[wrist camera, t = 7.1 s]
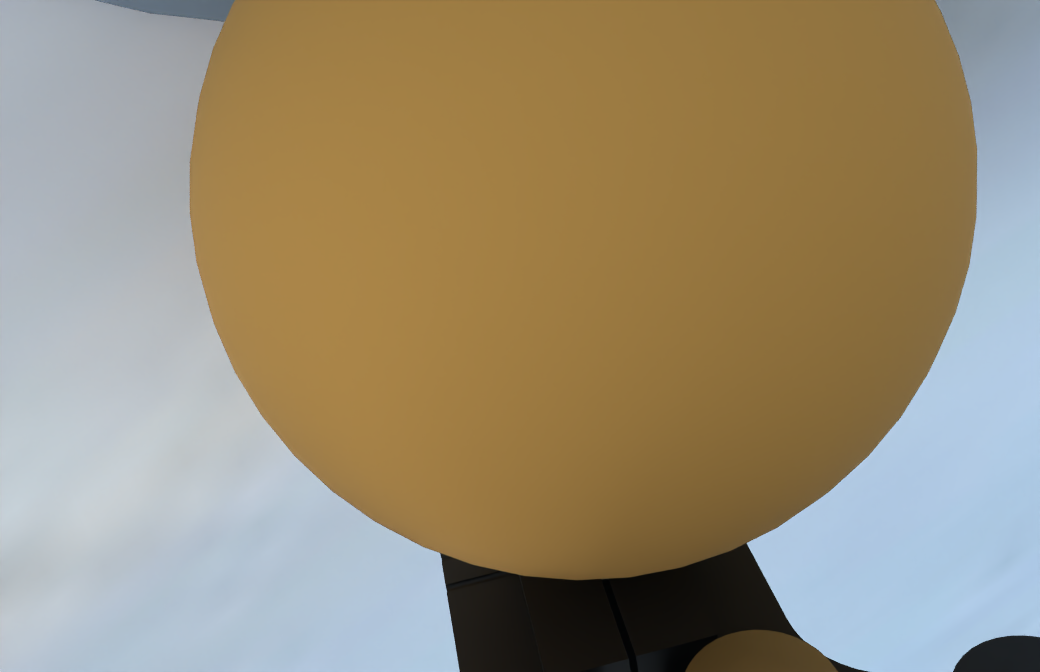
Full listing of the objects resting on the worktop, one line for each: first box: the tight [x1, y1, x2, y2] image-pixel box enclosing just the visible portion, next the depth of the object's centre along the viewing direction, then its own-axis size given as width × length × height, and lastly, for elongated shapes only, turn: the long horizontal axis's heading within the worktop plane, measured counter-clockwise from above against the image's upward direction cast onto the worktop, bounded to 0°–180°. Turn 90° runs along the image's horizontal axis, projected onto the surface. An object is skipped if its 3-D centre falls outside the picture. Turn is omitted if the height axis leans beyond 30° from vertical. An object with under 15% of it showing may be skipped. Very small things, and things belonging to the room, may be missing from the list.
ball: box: [190, 0, 977, 580], centre depth 8 cm, size 6×6×6 cm
